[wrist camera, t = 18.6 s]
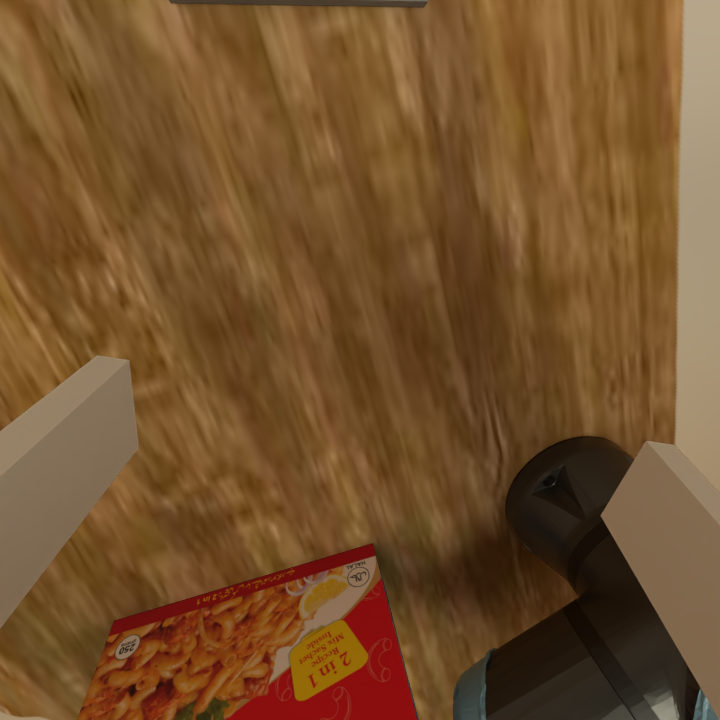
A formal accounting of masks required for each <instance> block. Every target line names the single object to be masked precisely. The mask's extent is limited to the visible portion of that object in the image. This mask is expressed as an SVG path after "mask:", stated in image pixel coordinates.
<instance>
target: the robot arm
mask: <svg viewBox="0 0 720 720" xmlns="http://www.w3.org/2000/svg"><path fill="white" fill-rule="evenodd" d="M138 448H139V443H138V435H137V426H136V417H135V408H134V399H133V390H132V382H131V373H130V364H129V360H125V359H118V358H112V357H105V356H99V355H97V356H96V357H94V358H93V359H92V360H91V361H89V362H88V363H87V364H86V365H84V366H83V367H82V368H80V369H79V370H78V371H77V372H75V373H74V374H73V375H71V376H70V377H69V378H68V379H66V380H65V381H64V382H63V383H61V384H60V385H59V386H57V387H56V388H55V389H54V390H52V391H51V392H50V393H48V394H47V395H46V396H45V397H43V398H42V399H41V400H40V401H38V402H37V403H36V404H34V405H33V406H32V407H31V408H29V409H28V410H27V411H26V412H24V413H23V414H22V415H20V416H19V417H18V418H17V419H15V420H14V421H13V422H11V423H10V424H9V425H8V426H6V427H5V428H4V429H3V430H1V431H0V628H1V627H2V625H3V624H4V623H5V622H6V620H7V619H8V618H9V616H10V615H11V614H12V612H13V611H14V610H15V609H16V607H17V606H18V605H19V603H20V602H21V601H22V599H23V598H24V597H25V595H26V594H27V593H28V592H29V590H30V589H31V588H32V586H33V585H34V584H35V582H36V581H37V580H38V579H39V577H40V576H41V575H42V573H43V572H44V571H45V569H46V568H47V567H48V565H49V564H50V563H51V562H52V560H53V559H54V558H55V556H56V555H57V554H58V552H59V551H60V550H61V549H62V547H63V546H64V545H65V543H66V542H67V541H68V539H69V538H70V537H71V535H72V534H73V533H74V532H75V530H76V529H77V528H78V526H79V525H80V524H81V522H82V521H83V520H84V519H85V517H86V516H87V515H88V513H89V512H90V511H91V509H92V508H93V507H94V506H95V504H96V503H97V502H98V500H99V499H100V498H101V496H102V495H103V494H104V492H105V491H106V490H107V489H108V487H109V486H110V485H111V483H112V482H113V481H114V479H115V478H116V477H117V476H118V474H119V473H120V472H121V470H122V469H123V468H124V466H125V465H126V464H127V462H128V461H129V460H130V459H131V457H132V456H133V455H134V453H135V452H136V451H137V449H138ZM506 516H507V520H508V523H509V525H510V527H511V529H512V530H513V532H514V533H515V535H516V536H517V538H518V539H519V541H520V542H521V543H522V544H523V546H524V547H525V548H526V549H527V550H529V551H530V552H532V553H533V554H535V555H536V556H538V557H539V558H540V559H542V560H543V561H544V562H545V563H546V564H547V565H549V566H550V567H551V568H552V569H554V570H555V571H556V572H557V573H559V574H560V575H561V576H562V577H564V578H565V579H566V580H567V581H568V582H569V584H570V585H571V586H572V588H573V589H574V591H575V592H576V593H577V595H578V596H579V598H577V599H576V600H574V601H573V602H571V603H569V604H568V605H566V606H565V607H563V608H561V609H560V610H558V611H557V612H555V613H554V614H552V615H550V616H549V617H547V618H546V619H544V620H542V621H541V622H539V623H538V624H536V625H534V626H533V627H531V628H530V629H528V630H526V631H525V632H523V633H522V634H520V635H518V636H517V637H515V638H514V639H512V640H511V641H509V642H507V643H506V644H504V645H503V646H501V647H499V648H498V649H496V648H493V649H491V650H489V651H488V652H487V654H486V656H485V657H484V658H483V659H481V660H480V661H479V662H477V663H476V664H474V665H473V666H472V667H470V668H469V669H468V670H466V671H465V672H464V673H463V674H462V675H461V676H460V678H459V679H458V681H457V683H456V686H455V691H454V696H453V700H454V703H453V720H720V492H719V491H718V490H717V489H716V488H715V487H714V486H713V485H712V484H711V483H710V482H709V481H708V479H707V478H706V477H705V476H704V475H703V474H702V473H701V472H700V471H699V470H698V469H697V468H696V467H695V466H694V465H693V464H692V463H691V462H690V461H689V460H688V458H687V457H686V456H685V455H684V454H683V453H682V452H681V451H680V450H679V449H678V448H677V447H676V446H675V445H672V444H665V443H659V442H652V441H645V443H644V445H643V446H642V448H641V450H640V451H639V453H638V455H637V456H636V458H635V460H634V459H633V458H632V457H631V456H630V455H629V454H627V453H626V452H625V451H624V450H622V449H621V448H620V447H619V446H617V445H616V444H615V443H613V442H611V441H609V440H606V439H603V438H597V437H581V438H575V439H571V440H567V441H564V442H562V443H559V444H557V445H555V446H553V447H551V448H549V449H547V450H545V451H544V452H542V453H541V454H540V455H538V456H537V457H536V458H534V459H533V460H532V461H531V462H530V463H529V464H528V465H527V466H526V467H525V468H524V469H523V470H522V471H521V473H520V474H519V475H518V477H517V478H516V480H515V481H514V483H513V485H512V487H511V489H510V491H509V494H508V498H507V502H506Z"/></svg>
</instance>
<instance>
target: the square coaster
mask: <svg viewBox="0 0 720 720" xmlns="http://www.w3.org/2000/svg"><path fill="white" fill-rule="evenodd" d="M169 1H170V2H171V3H196V4H258V5H321V6H383V7H424V6H425V5H426V4H427V2H428V0H169Z"/></svg>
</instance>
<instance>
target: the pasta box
mask: <svg viewBox="0 0 720 720" xmlns="http://www.w3.org/2000/svg"><path fill="white" fill-rule="evenodd" d="M77 720H419V719H418V715H417V712H416V708H415V704H414V700H413V696H412V692H411V688H410V684H409V680H408V676H407V672H406V668H405V664H404V661H403V657H402V653H401V649H400V645H399V641H398V637H397V633H396V629H395V625H394V621H393V617H392V613H391V610H390V606H389V602H388V598H387V594H386V590H385V586H384V583H383V579H382V576H381V572H380V568H379V565H378V561H377V557H376V554H375V550H374V547H373V543H372V544H368V545H365V546H362V547H358V548H355V549H352V550H348V551H345V552H342V553H338V554H335V555H332V556H328V557H325V558H322V559H318V560H315V561H312V562H308V563H305V564H302V565H298V566H295V567H292V568H288V569H285V570H282V571H278V572H275V573H272V574H268V575H265V576H262V577H258V578H255V579H252V580H248V581H245V582H242V583H238V584H235V585H232V586H228V587H225V588H222V589H218V590H215V591H212V592H208V593H205V594H202V595H198V596H195V597H192V598H188V599H185V600H182V601H178V602H175V603H172V604H168V605H165V606H162V607H158V608H155V609H152V610H148V611H145V612H142V613H138V614H135V615H132V616H128V617H125V618H122V619H118V620H115V621H114V623H113V626H112V628H111V631H110V634H109V636H108V639H107V642H106V644H105V647H104V650H103V652H102V655H101V658H100V660H99V663H98V666H97V668H96V671H95V674H94V676H93V679H92V682H91V684H90V687H89V690H88V692H87V695H86V698H85V700H84V703H83V706H82V708H81V711H80V714H79V716H78V719H77Z"/></svg>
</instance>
